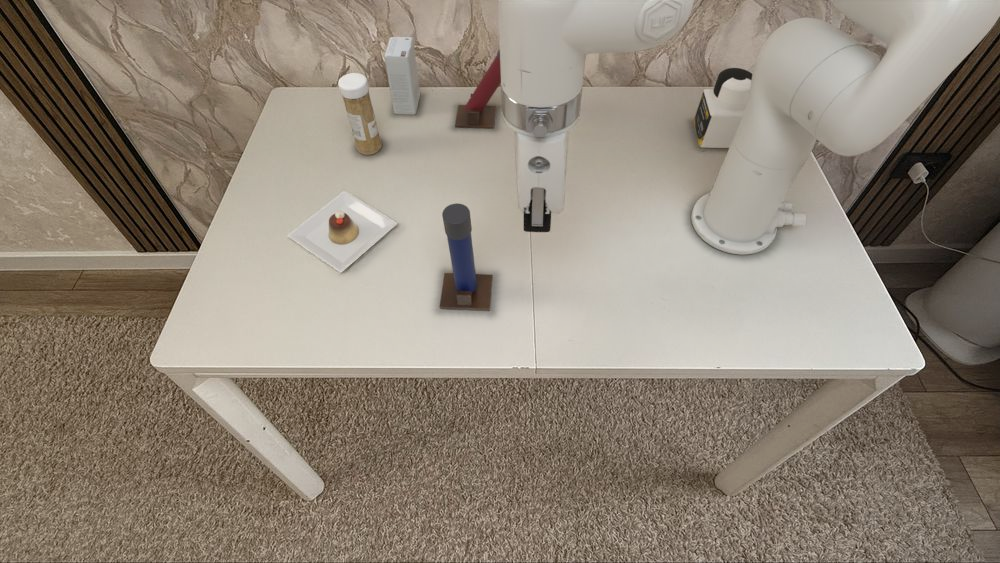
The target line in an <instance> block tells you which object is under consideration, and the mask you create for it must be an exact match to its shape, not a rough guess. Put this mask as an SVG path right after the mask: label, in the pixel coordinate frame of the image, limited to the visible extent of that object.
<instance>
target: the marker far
mask: <svg viewBox="0 0 1000 563" xmlns="http://www.w3.org/2000/svg"><path fill="white" fill-rule="evenodd" d="M499 86H501V69H500V48H499V49H498V51H497V53H496V56H495V58H494V59H493V60H492V62H491V64H490V66H489V67H488V69H487V71H486V72H485V74H484V75H483V77H482V79H481V80H480V81H479V83H478V85H477V87H476V88H475V89H474V91H473V93H471V94H472V96H471V95H470V96H471V97H470V98H469V99H468V101H467V102H466V104H465V105H466V106H465V108H466V110H467V112H468V110H480V114H481V112H482V111H483V109H484V108H485V106H488V103H489V101H490V100H491V99H492V98H493V96H494V94H495V93H496V91H497V89H498V88H499Z"/></svg>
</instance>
